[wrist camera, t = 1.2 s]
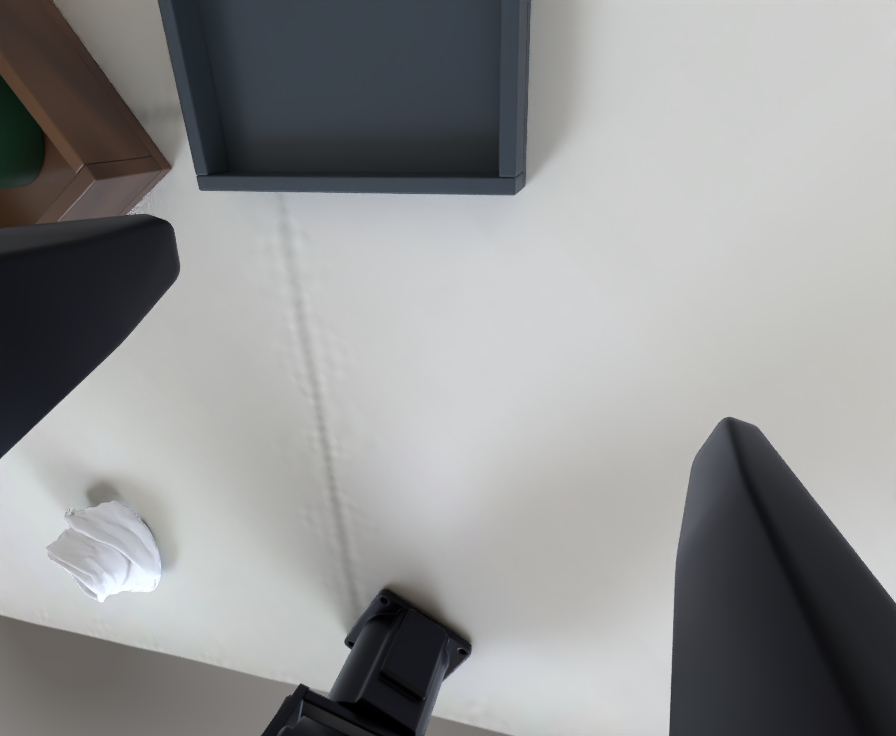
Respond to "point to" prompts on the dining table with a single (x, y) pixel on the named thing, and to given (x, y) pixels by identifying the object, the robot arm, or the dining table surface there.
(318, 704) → the robot arm
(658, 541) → the dining table surface
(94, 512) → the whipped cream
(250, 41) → the tray
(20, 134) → the bottle
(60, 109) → the crate
